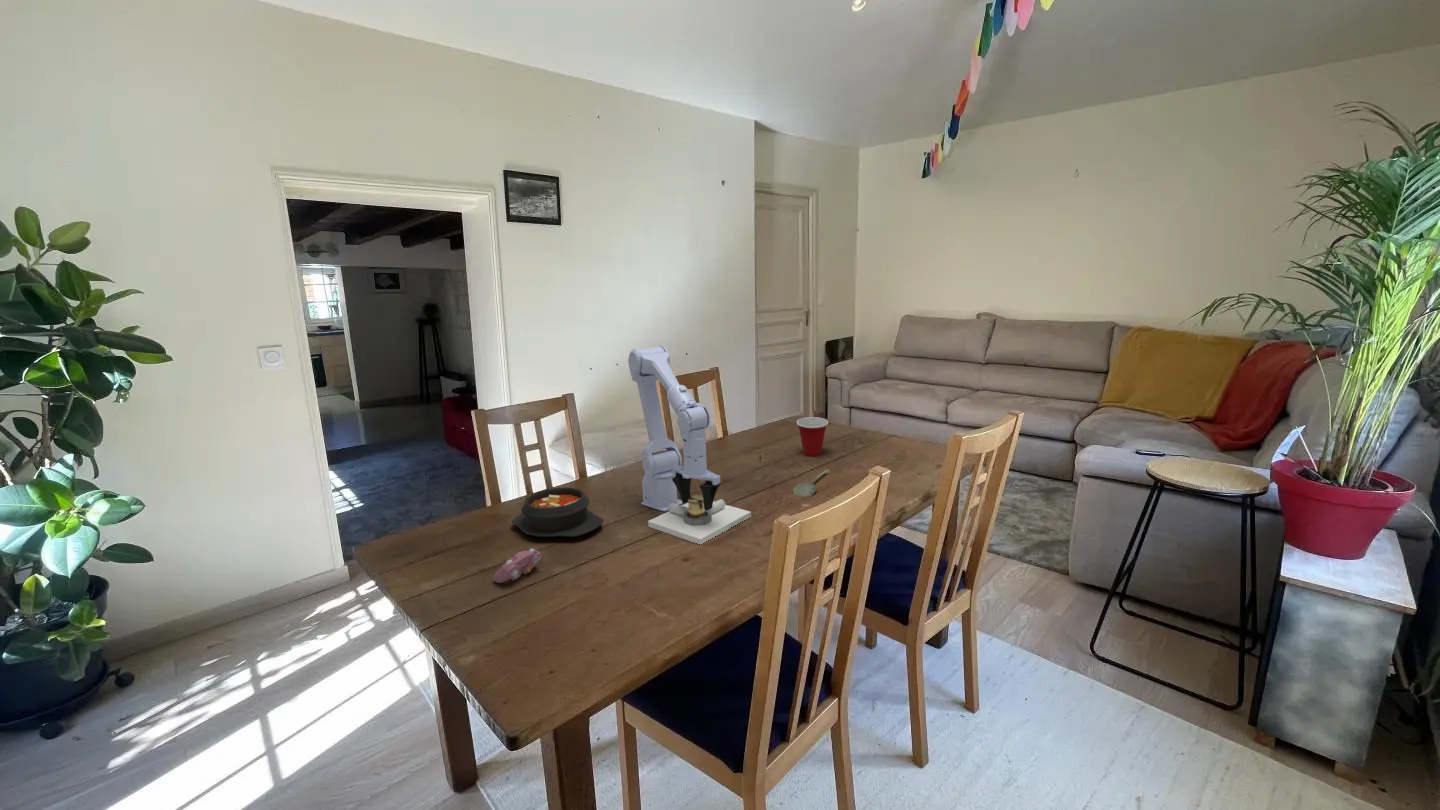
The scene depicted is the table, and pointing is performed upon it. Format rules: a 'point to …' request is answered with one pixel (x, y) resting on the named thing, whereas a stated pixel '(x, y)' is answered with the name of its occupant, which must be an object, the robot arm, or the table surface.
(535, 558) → the video game controller
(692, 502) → the salt shaker
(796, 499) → the table surface
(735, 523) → the shaft base
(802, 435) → the plastic cup
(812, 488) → the soupspoon
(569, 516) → the casserole
